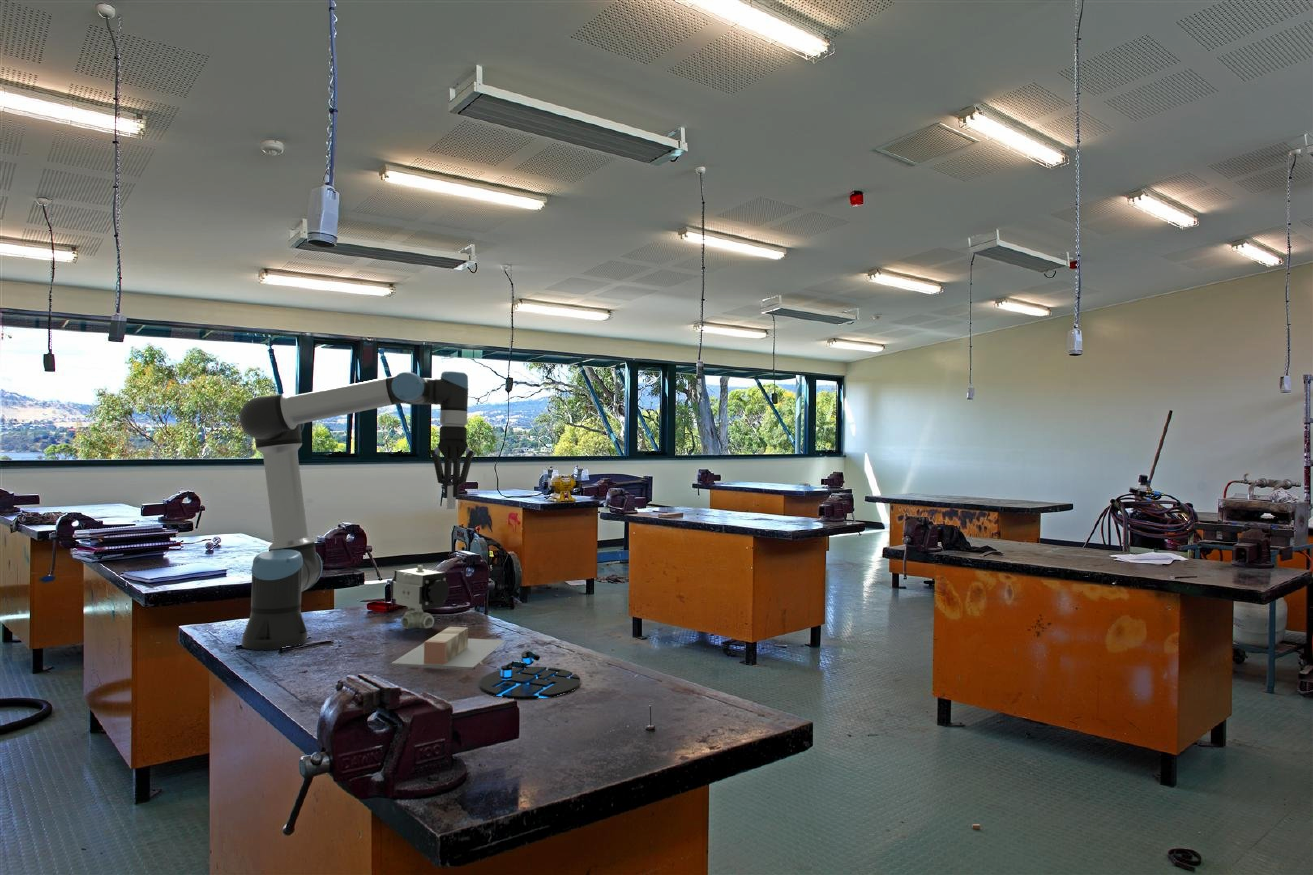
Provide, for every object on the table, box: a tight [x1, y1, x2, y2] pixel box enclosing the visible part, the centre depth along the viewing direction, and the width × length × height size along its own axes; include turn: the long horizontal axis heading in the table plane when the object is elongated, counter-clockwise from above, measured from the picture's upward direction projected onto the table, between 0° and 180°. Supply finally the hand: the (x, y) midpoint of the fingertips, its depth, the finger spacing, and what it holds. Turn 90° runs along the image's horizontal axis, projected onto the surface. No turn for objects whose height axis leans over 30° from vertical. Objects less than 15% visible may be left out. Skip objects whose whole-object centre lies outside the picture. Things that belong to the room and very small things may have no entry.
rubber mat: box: [390, 638, 506, 671], centre depth 191 cm, size 26×20×1 cm
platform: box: [478, 649, 581, 700], centre depth 168 cm, size 22×22×6 cm
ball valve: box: [390, 564, 450, 630], centre depth 217 cm, size 18×8×18 cm, turn 55°
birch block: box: [423, 626, 469, 664], centre depth 188 cm, size 5×5×16 cm
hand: (451, 508), depth 217 cm, fingers closed
